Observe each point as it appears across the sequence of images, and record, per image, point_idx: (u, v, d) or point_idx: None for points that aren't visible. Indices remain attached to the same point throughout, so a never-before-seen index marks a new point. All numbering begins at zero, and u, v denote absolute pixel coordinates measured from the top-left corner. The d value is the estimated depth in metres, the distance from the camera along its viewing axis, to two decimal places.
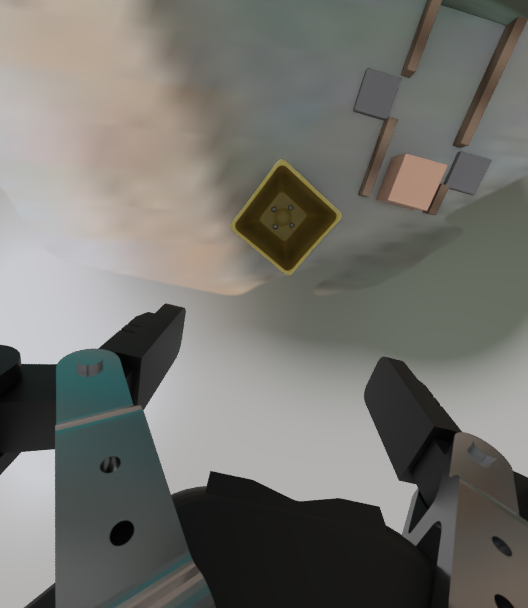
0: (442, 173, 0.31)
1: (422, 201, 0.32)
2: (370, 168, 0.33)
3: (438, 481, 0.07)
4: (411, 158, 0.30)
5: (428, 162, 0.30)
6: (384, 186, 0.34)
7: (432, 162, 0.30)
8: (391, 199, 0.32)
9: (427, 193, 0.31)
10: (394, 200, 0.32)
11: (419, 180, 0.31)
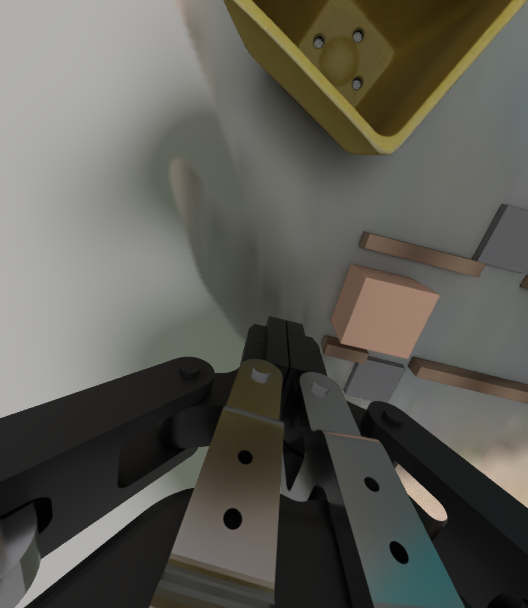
0: (396, 354, 0.19)
1: (356, 333, 0.19)
2: (410, 244, 0.19)
3: (288, 414, 0.08)
4: (430, 305, 0.18)
5: (417, 331, 0.18)
6: (375, 271, 0.20)
7: (416, 337, 0.19)
8: (366, 283, 0.17)
9: (368, 338, 0.19)
10: (363, 289, 0.18)
11: (391, 323, 0.18)
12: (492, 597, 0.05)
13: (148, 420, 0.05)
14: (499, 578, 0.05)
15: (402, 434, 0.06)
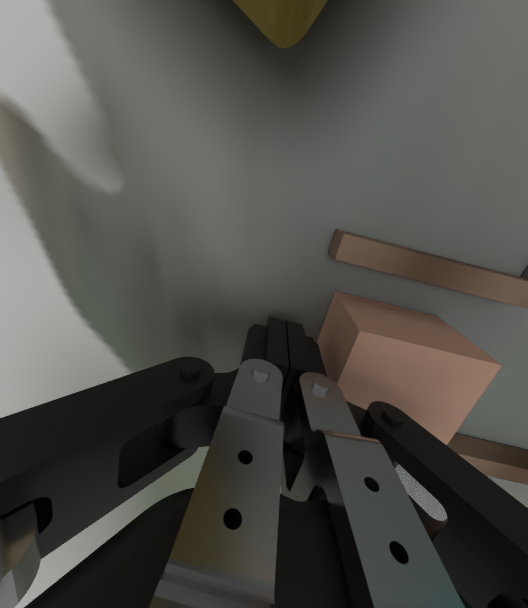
0: None
1: None
2: (416, 252, 0.11)
3: (288, 414, 0.08)
4: (480, 382, 0.09)
5: (453, 424, 0.10)
6: (377, 308, 0.12)
7: (450, 433, 0.10)
8: (359, 342, 0.09)
9: None
10: (355, 351, 0.09)
11: (405, 410, 0.10)
12: (492, 597, 0.05)
13: (148, 420, 0.05)
14: (499, 578, 0.05)
15: (402, 434, 0.06)
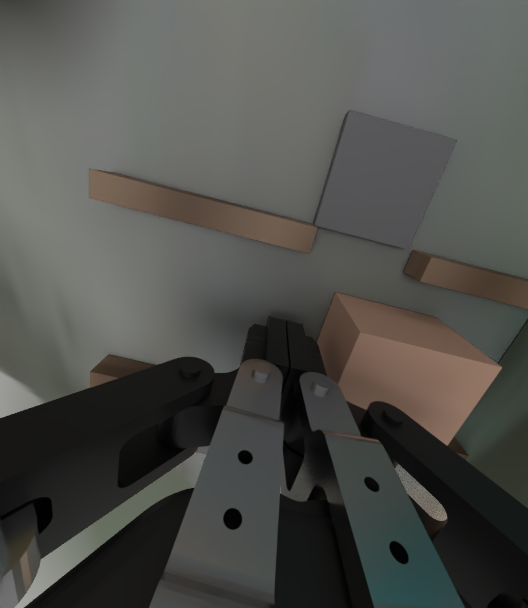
0: None
1: None
2: (177, 191, 0.10)
3: (288, 414, 0.08)
4: (481, 384, 0.09)
5: (453, 426, 0.10)
6: (377, 309, 0.12)
7: (450, 435, 0.10)
8: (360, 344, 0.09)
9: None
10: (355, 353, 0.09)
11: (405, 412, 0.10)
12: (492, 597, 0.05)
13: (148, 420, 0.05)
14: (499, 578, 0.05)
15: (402, 434, 0.06)
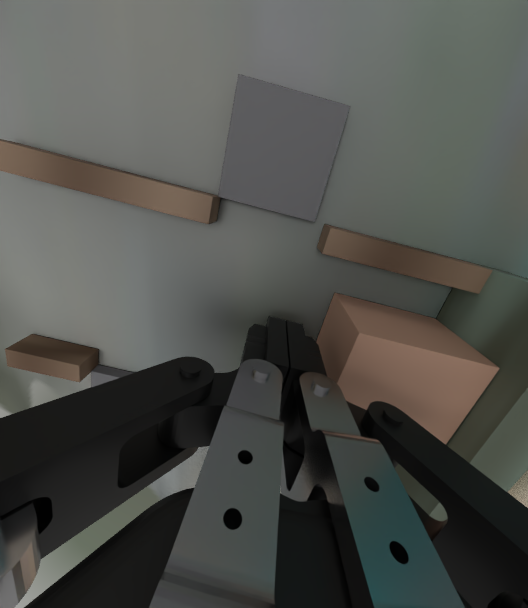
0: None
1: None
2: (71, 159, 0.10)
3: (288, 414, 0.08)
4: (478, 384, 0.09)
5: (451, 426, 0.10)
6: (376, 310, 0.12)
7: (448, 435, 0.10)
8: (359, 344, 0.09)
9: None
10: (354, 353, 0.09)
11: (404, 412, 0.10)
12: (492, 597, 0.05)
13: (148, 420, 0.05)
14: (499, 578, 0.05)
15: (402, 434, 0.06)
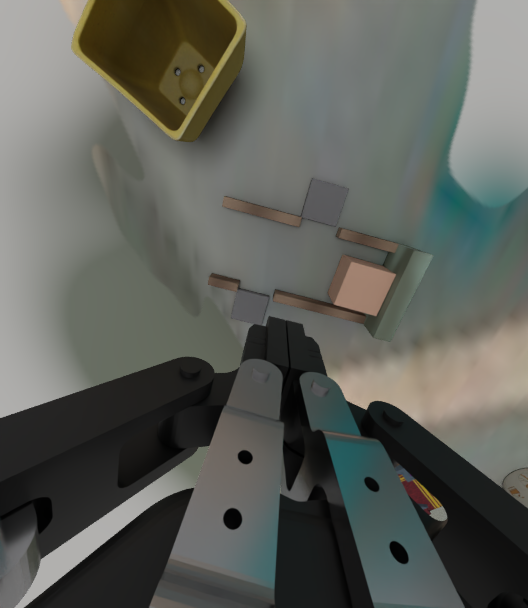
0: (369, 312, 0.30)
1: (344, 298, 0.29)
2: (252, 204, 0.29)
3: (288, 414, 0.08)
4: (390, 280, 0.28)
5: (382, 297, 0.29)
6: (358, 259, 0.31)
7: (381, 301, 0.29)
8: (351, 265, 0.28)
9: (351, 302, 0.29)
10: (349, 269, 0.28)
11: (366, 291, 0.29)
12: (492, 597, 0.05)
13: (148, 420, 0.05)
14: (499, 578, 0.05)
15: (402, 434, 0.06)
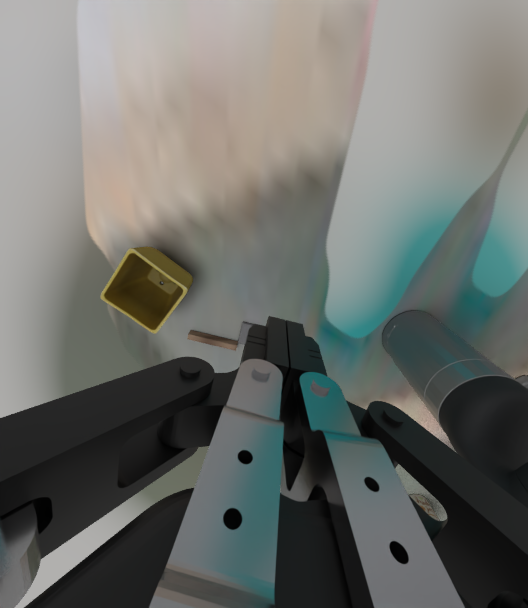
0: None
1: None
2: (206, 337, 0.46)
3: (288, 414, 0.08)
4: None
5: None
6: None
7: None
8: None
9: None
10: None
11: None
12: (492, 597, 0.05)
13: (148, 420, 0.05)
14: (499, 578, 0.05)
15: (402, 434, 0.06)
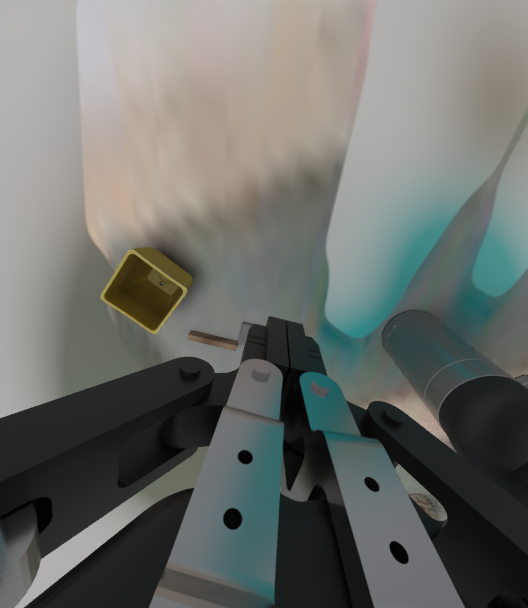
0: None
1: None
2: (206, 337, 0.46)
3: (288, 414, 0.08)
4: None
5: None
6: None
7: None
8: None
9: None
10: None
11: None
12: (492, 597, 0.05)
13: (148, 420, 0.05)
14: (499, 578, 0.05)
15: (402, 434, 0.06)
